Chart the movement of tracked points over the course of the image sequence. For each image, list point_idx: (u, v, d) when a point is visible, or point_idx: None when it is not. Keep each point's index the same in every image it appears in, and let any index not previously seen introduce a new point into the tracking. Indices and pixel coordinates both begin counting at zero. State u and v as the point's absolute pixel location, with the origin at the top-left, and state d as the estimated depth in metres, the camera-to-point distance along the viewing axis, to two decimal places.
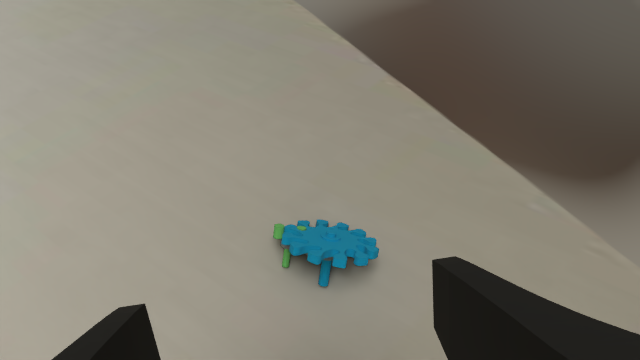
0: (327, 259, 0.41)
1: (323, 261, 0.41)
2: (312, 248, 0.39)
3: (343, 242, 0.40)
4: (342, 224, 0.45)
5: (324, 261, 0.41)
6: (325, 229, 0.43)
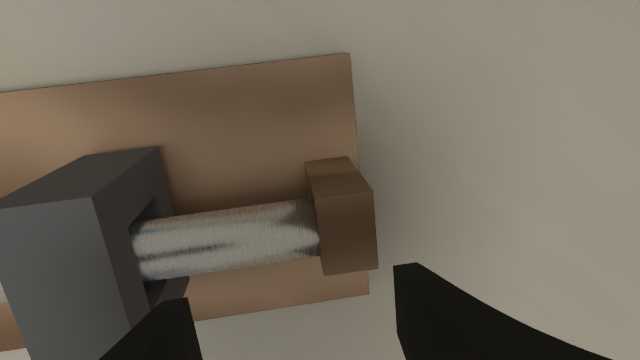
0: None
1: None
2: None
3: None
4: None
5: None
6: None
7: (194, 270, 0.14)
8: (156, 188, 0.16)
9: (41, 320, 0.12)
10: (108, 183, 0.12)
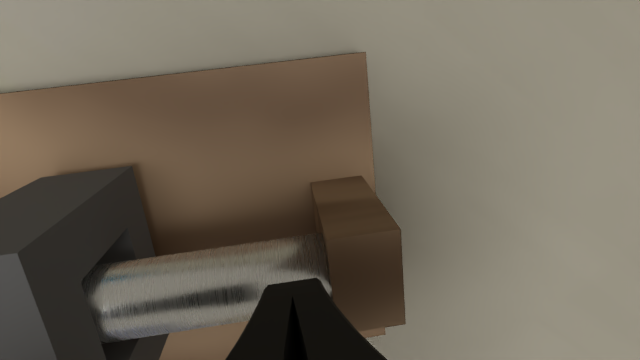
0: None
1: None
2: None
3: None
4: None
5: None
6: None
7: (171, 329, 0.11)
8: (127, 220, 0.13)
9: None
10: (50, 227, 0.09)
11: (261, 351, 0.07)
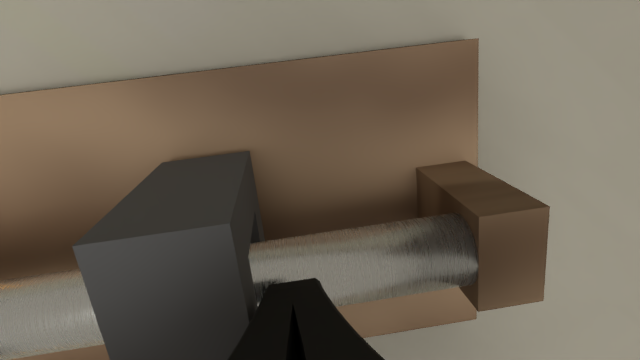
0: None
1: None
2: None
3: None
4: None
5: None
6: None
7: None
8: (254, 203, 0.13)
9: None
10: (234, 202, 0.09)
11: (263, 351, 0.07)
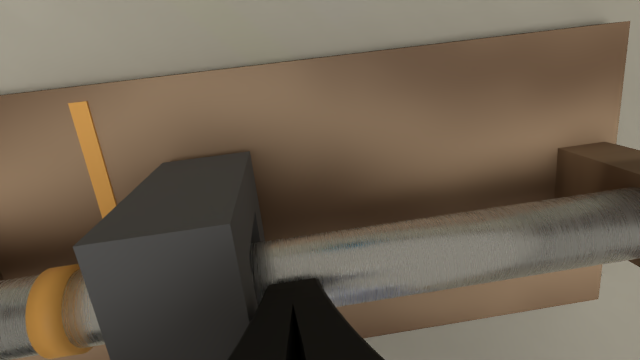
0: None
1: None
2: None
3: None
4: None
5: None
6: None
7: (521, 273, 0.12)
8: (254, 203, 0.13)
9: None
10: (234, 202, 0.09)
11: (263, 350, 0.07)
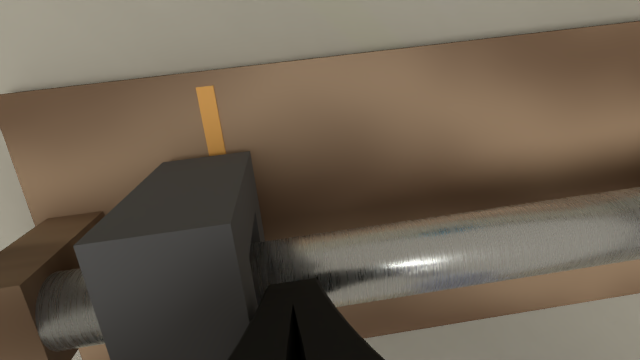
0: None
1: None
2: None
3: None
4: None
5: None
6: None
7: None
8: (254, 203, 0.13)
9: None
10: (234, 202, 0.09)
11: (263, 350, 0.07)
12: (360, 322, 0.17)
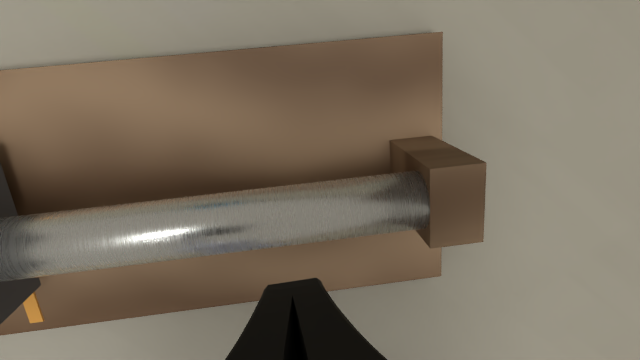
0: None
1: None
2: None
3: None
4: None
5: None
6: None
7: (304, 238, 0.14)
8: None
9: None
10: None
11: (261, 351, 0.07)
12: (136, 301, 0.20)
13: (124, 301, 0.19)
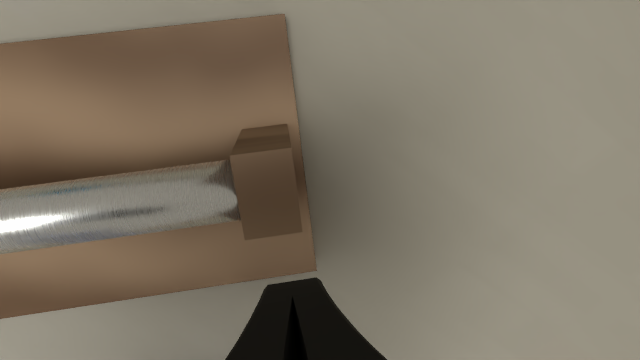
0: None
1: None
2: None
3: None
4: None
5: None
6: None
7: (105, 232, 0.13)
8: None
9: None
10: None
11: (261, 351, 0.07)
12: None
13: None
